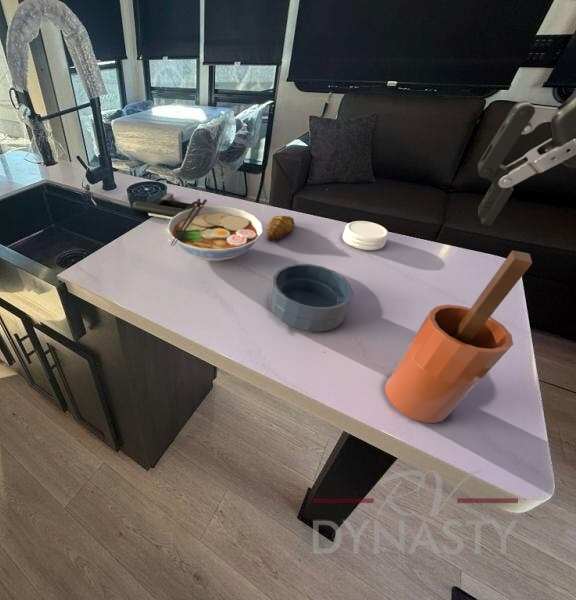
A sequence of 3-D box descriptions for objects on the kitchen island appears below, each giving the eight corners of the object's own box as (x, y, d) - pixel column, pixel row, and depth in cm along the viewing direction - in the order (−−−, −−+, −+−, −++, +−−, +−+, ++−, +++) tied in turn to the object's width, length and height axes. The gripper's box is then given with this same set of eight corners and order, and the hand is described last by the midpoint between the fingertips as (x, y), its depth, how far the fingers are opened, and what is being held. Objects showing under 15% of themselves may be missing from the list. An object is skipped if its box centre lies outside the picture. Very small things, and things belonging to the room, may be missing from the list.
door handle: (153, 188, 111) (128, 204, 100) (208, 196, 105) (189, 214, 93) (153, 198, 113) (129, 214, 102) (208, 206, 107) (189, 225, 95)
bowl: (350, 300, 67) (359, 276, 63) (333, 344, 58) (343, 320, 54) (282, 279, 73) (287, 256, 70) (257, 316, 64) (261, 292, 60)
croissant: (278, 220, 96) (281, 204, 93) (301, 226, 92) (305, 209, 89) (257, 239, 88) (259, 222, 84) (281, 246, 84) (284, 229, 81)
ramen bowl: (249, 288, 71) (253, 256, 66) (152, 270, 78) (149, 239, 72) (266, 235, 89) (270, 206, 84) (186, 224, 96) (186, 197, 90)
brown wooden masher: (466, 354, 44) (549, 251, 34) (467, 379, 41) (558, 274, 31) (425, 340, 46) (491, 240, 36) (422, 363, 43) (494, 260, 33)
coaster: (333, 236, 88) (337, 223, 85) (364, 229, 90) (368, 217, 88) (361, 254, 80) (365, 241, 78) (393, 246, 83) (399, 234, 80)
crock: (448, 390, 50) (509, 318, 41) (447, 433, 45) (516, 363, 35) (388, 368, 54) (431, 297, 44) (381, 405, 48) (427, 334, 39)
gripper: (573, 12, 22) (451, 230, 32) (977, -5, 16) (666, 272, 26) (552, 13, 27) (452, 203, 37) (856, 0, 21) (633, 233, 31)
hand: (540, 231), depth 32 cm, fingers open, 8 cm apart
